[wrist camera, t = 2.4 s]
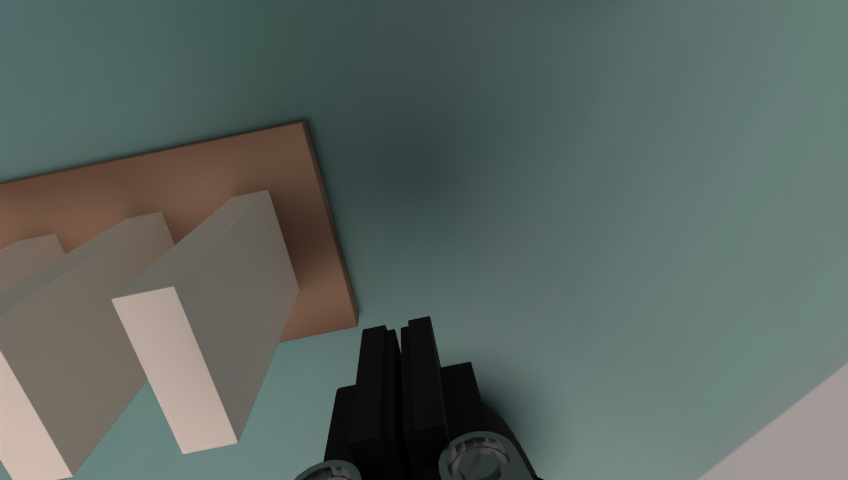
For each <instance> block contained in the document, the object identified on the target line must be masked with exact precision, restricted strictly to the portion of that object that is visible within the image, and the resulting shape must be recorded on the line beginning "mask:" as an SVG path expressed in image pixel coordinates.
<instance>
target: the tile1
mask: <svg viewBox="0 0 848 480" xmlns="http://www.w3.org/2000/svg"><path fill="white" fill-rule="evenodd" d="M299 291H300V290H299V287H298V283H297V280H296V277H295V274H294V271H293V267H292V264H291V261H290V258H289V255H288V251H287V248H286V245H285V242H284V239H283V235H282V232H281V229H280V226H279V223H278V219H277V216H276V213H275V210H274V207H273V203H272V200H271V197H270V194H269V191H268V190H264V191H259V192H254V193H249V194H244V195H240V196H235V197H232V198H231V199H230V200H228V201H227V202H226V203H225V204H224V205H222V206H221V207H220V208H219V209H218V210H216V211H215V212H214V213H213V214H212V215H210V216H209V217H208V218H207V219H206V220H205V221H203V222H202V223H201V224H200V225H199V226H197V227H196V228H195V229H194V230H193V231H191V232H190V233H189V234H188V235H187V236H186V237H184V238H183V239H182V240H181V241H180V242H178V243H177V244H176V245H175V246H174V247H172V248H171V249H170V250H169V251H168V252H166V253H165V254H164V255H163V256H162V257H161V258H159V259H158V260H157V261H156V262H155V263H153V264H152V265H151V266H150V267H149V268H147V269H146V270H145V271H144V272H143V273H141V274H140V275H139V276H138V277H137V278H136V279H134V280H133V281H132V282H131V283H130V284H128V285H127V286H126V287H125V288H124V289H122V290H121V291H120V292H119V293H118V294H117V295H115V296H114V297H113V298H112V299H111V300H112V302H113V305H114V307H115V309H116V311H117V313H118V315H119V318H120V320H121V322H122V324H123V326H124V328H125V330H126V333H127V335H128V337H129V339H130V341H131V343H132V345H133V348H134V350H135V352H136V354H137V356H138V358H139V361H140V363H141V365H142V367H143V369H144V371H145V373H146V376H147V378H148V380H149V382H150V384H151V386H152V389H153V391H154V393H155V395H156V397H157V399H158V401H159V404H160V406H161V408H162V410H163V412H164V414H165V417H166V419H167V421H168V423H169V425H170V427H171V429H172V432H173V434H174V436H175V438H176V440H177V442H178V444H179V447H180V449H181V451H182V453H183V454H186V453H191V452H196V451H201V450H206V449H211V448H216V447H221V446H226V445H231V444H236V443H238V442H239V440H240V437H241V435H242V432H243V430H244V427H245V425H246V422H247V420H248V417H249V415H250V412H251V410H252V407H253V405H254V402H255V400H256V397H257V395H258V392H259V390H260V387H261V385H262V383H263V380H264V378H265V375H266V373H267V370H268V368H269V365H270V363H271V360H272V358H273V355H274V353H275V350H276V348H277V345H278V343H279V340H280V338H281V335H282V333H283V330H284V328H285V325H286V323H287V320H288V318H289V315H290V313H291V311H292V308H293V306H294V303H295V301H296V298H297V296H298V293H299Z"/></svg>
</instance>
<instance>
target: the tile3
mask: <svg viewBox="0 0 848 480" xmlns="http://www.w3.org/2000/svg"><path fill="white" fill-rule="evenodd" d="M63 255H65V253H64V251H63V249H62V246H61V244H60V242H59V240H58V238H57V236H56V234H50V235H45V236H40V237H35V238H30V239H25V240H21V241H18V242H16V243H14V244H12V245H10V246H8V247H5V248H3V249H1V250H0V292H2V291H4V290H5V289H7V288H9V287H10V286H12V285H14V284H16V283H17V282H19V281H21V280H22V279H24V278H26V277H27V276H29V275H31V274H33V273H34V272H36V271H38V270H39V269H41V268H43V267H45V266H46V265H48V264H50V263H51V262H53V261H55V260H57V259H58V258H60V257H62V256H63Z"/></svg>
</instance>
